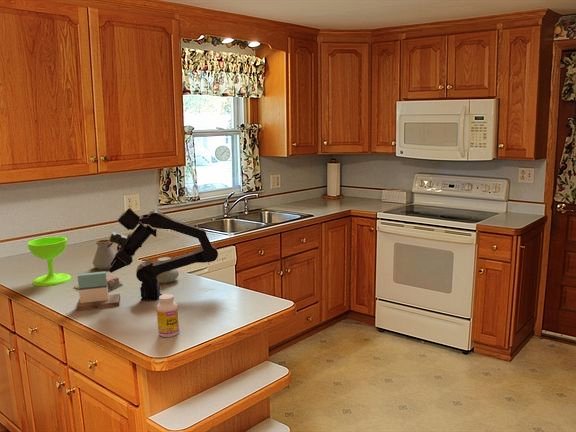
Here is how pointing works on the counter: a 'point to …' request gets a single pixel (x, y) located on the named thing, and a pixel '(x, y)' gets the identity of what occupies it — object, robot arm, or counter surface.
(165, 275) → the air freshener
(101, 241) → the coffee pot
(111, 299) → the brown flat block
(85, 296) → the beige rectangular block
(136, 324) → the counter surface
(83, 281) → the mint green pillar
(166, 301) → the supplement bottle
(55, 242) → the wineglass
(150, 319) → the counter surface
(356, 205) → the counter surface
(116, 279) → the packaged product
